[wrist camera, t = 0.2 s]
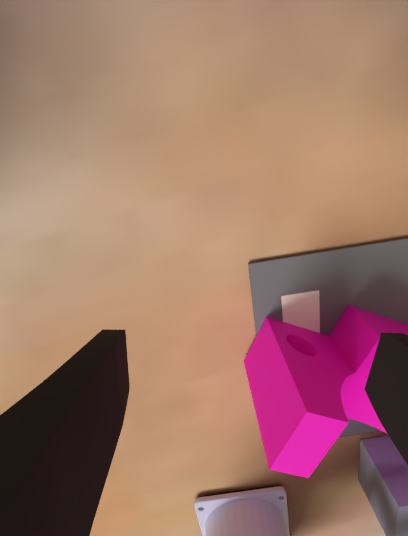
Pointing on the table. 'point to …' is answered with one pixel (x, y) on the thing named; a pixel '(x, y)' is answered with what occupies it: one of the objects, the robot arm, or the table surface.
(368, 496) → the gray cube
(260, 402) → the toy block
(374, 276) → the board
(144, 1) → the table surface
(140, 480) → the table surface
